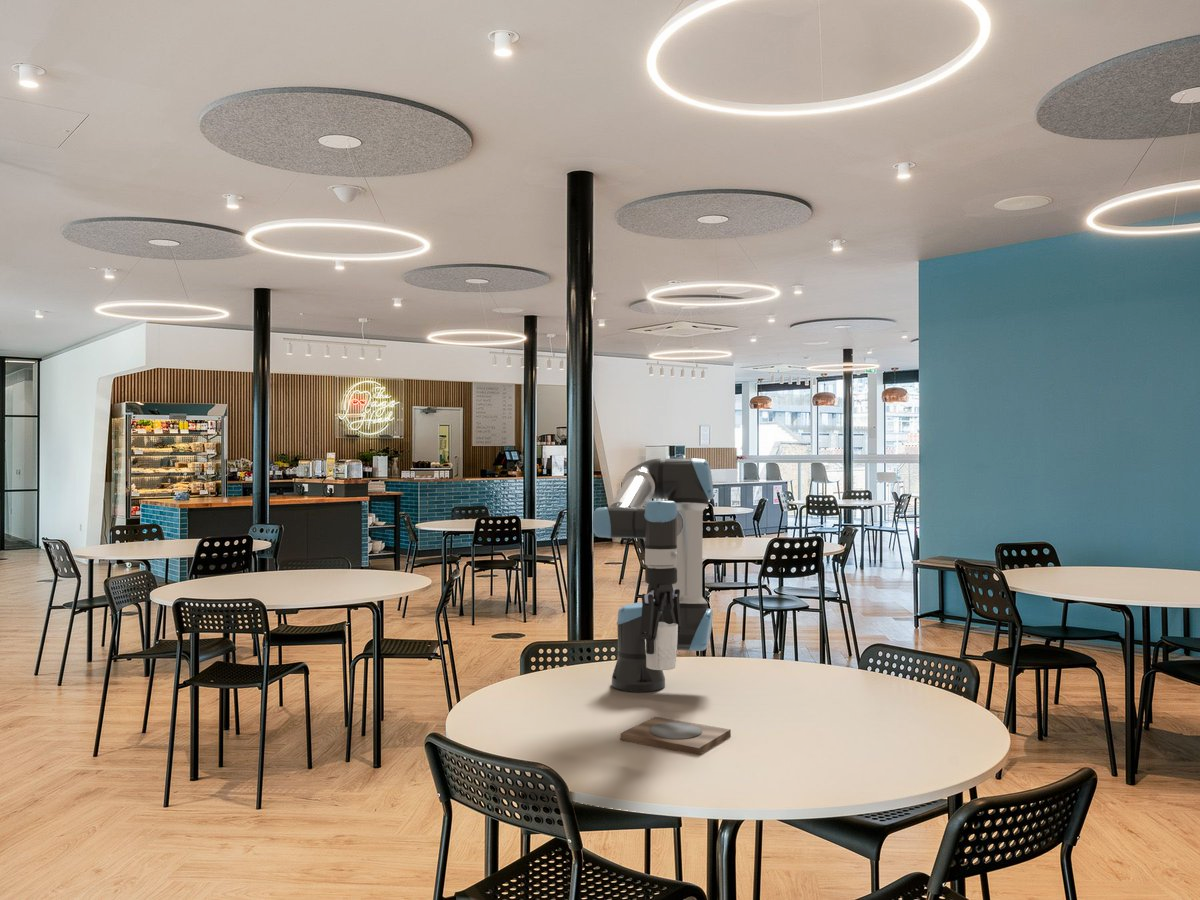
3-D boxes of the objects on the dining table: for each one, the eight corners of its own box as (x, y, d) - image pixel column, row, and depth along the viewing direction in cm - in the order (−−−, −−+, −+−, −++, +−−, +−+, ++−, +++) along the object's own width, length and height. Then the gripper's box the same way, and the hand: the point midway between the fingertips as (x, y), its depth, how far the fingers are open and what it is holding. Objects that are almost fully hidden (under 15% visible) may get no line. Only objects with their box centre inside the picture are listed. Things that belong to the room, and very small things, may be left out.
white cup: (654, 662, 214) (654, 620, 214) (684, 666, 210) (683, 623, 210) (638, 668, 207) (638, 625, 208) (668, 672, 203) (668, 628, 204)
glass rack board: (655, 722, 217) (655, 715, 217) (730, 736, 206) (730, 728, 206) (620, 739, 204) (620, 731, 204) (699, 755, 193) (698, 746, 193)
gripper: (652, 571, 199) (652, 674, 198) (696, 564, 216) (696, 659, 215) (623, 569, 203) (624, 670, 202) (669, 562, 220) (669, 655, 219)
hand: (661, 664), depth 209 cm, fingers closed on white cup, 8 cm apart
